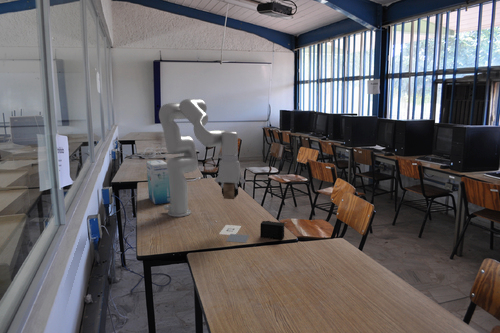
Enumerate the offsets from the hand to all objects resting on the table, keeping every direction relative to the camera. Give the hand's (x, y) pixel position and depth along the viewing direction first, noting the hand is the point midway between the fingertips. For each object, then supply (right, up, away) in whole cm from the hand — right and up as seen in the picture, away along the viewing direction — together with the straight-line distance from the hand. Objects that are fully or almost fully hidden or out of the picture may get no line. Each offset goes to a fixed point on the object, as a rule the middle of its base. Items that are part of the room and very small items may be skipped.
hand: (230, 195), depth 179 cm
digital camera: (+20, -19, -5) cm, 28 cm away
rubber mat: (+4, -19, -8) cm, 21 cm away
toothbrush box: (-47, -8, +55) cm, 72 cm away
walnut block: (0, -1, 0) cm, 1 cm away
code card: (0, -17, +3) cm, 17 cm away
